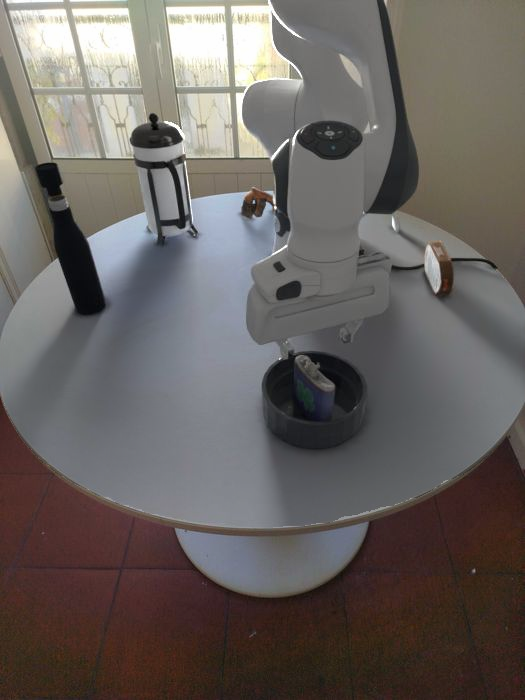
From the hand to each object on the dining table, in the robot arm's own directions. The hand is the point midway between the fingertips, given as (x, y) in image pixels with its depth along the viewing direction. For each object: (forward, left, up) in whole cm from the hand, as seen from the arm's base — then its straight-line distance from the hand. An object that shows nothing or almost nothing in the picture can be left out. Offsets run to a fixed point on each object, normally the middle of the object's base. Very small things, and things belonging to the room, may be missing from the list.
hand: (317, 347), depth 68 cm
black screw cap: (0, 0, -13) cm, 13 cm away
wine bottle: (+32, -45, -13) cm, 57 cm away
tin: (-41, -25, -13) cm, 50 cm away
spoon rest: (-37, -55, -13) cm, 67 cm away
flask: (+1, +1, -13) cm, 13 cm away
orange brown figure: (-17, -75, -13) cm, 78 cm away
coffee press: (+8, -72, -13) cm, 74 cm away
